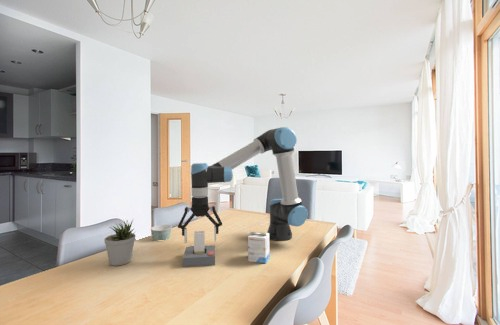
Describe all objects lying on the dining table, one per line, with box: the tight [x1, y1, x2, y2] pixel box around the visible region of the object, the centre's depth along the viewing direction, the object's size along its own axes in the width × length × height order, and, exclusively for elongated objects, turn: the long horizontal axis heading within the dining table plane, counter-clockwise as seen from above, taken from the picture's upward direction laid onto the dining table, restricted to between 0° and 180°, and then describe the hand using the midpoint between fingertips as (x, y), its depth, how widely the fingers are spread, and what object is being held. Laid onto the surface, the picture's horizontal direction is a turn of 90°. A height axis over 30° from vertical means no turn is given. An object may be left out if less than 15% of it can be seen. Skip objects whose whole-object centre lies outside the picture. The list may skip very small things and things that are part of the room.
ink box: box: [247, 231, 271, 264], centre depth 117 cm, size 9×8×13 cm
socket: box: [182, 244, 216, 268], centre depth 116 cm, size 14×14×5 cm
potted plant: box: [104, 219, 137, 267], centre depth 113 cm, size 13×14×20 cm
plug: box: [193, 230, 206, 254], centre depth 116 cm, size 4×4×12 cm
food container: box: [150, 224, 173, 241], centre depth 147 cm, size 12×12×6 cm
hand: (200, 241), depth 116 cm, fingers open, 13 cm apart
